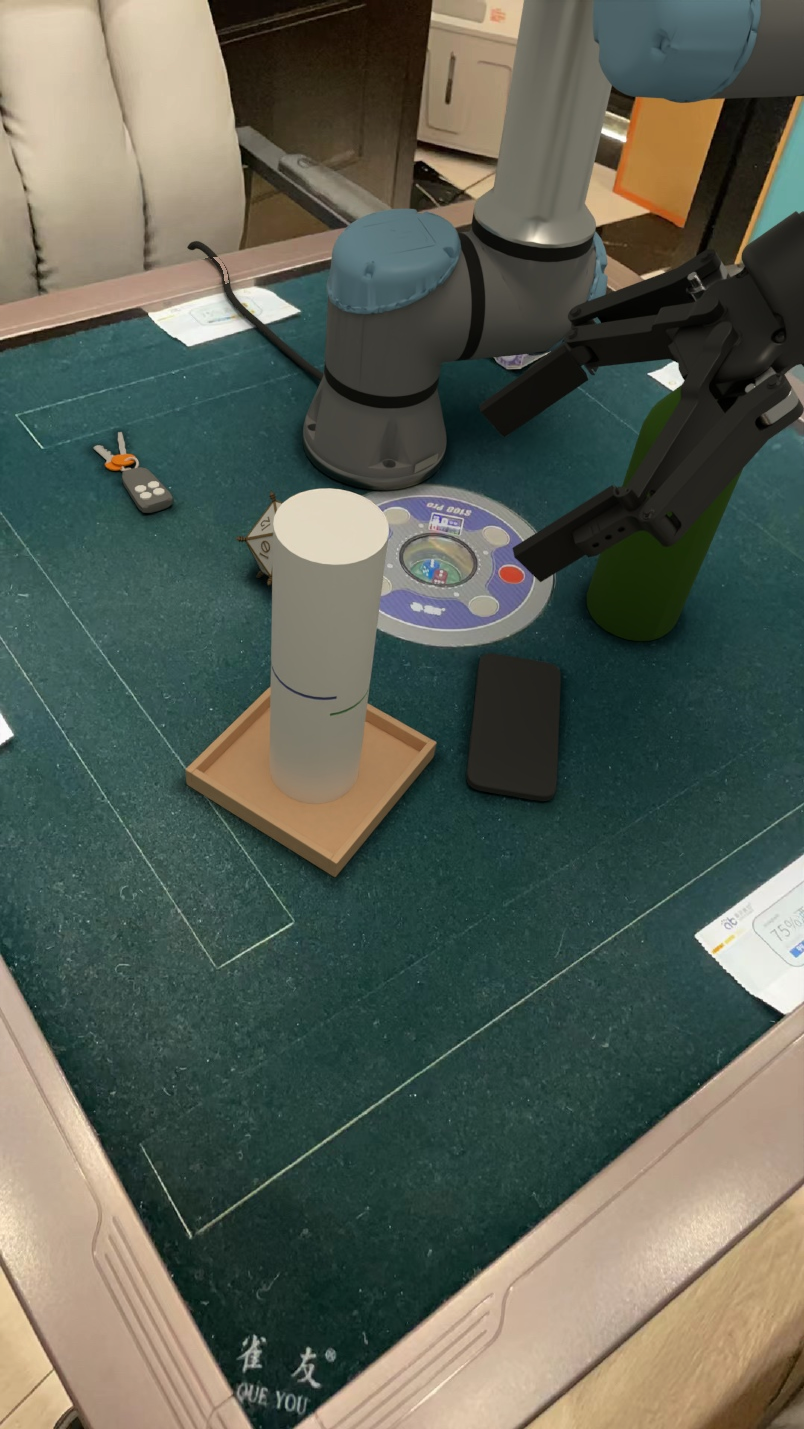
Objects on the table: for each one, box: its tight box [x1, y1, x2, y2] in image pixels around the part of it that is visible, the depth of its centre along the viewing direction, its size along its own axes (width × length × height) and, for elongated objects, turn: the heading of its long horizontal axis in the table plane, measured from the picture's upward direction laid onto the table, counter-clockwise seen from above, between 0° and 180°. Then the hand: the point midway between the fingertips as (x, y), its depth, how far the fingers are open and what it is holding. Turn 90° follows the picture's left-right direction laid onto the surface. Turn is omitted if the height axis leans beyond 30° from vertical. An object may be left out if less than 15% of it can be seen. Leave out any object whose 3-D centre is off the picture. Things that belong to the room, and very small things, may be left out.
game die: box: [235, 490, 284, 586], centre depth 95 cm, size 9×8×10 cm
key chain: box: [92, 431, 174, 514], centre depth 105 cm, size 13×4×2 cm, turn 34°
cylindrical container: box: [269, 488, 390, 804], centre depth 74 cm, size 7×7×25 cm
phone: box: [465, 652, 562, 802], centre depth 89 cm, size 7×1×15 cm
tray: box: [185, 685, 437, 878], centre depth 84 cm, size 14×14×2 cm
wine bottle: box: [586, 384, 744, 642], centre depth 88 cm, size 9×9×32 cm
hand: (507, 489), depth 64 cm, fingers open, 13 cm apart
